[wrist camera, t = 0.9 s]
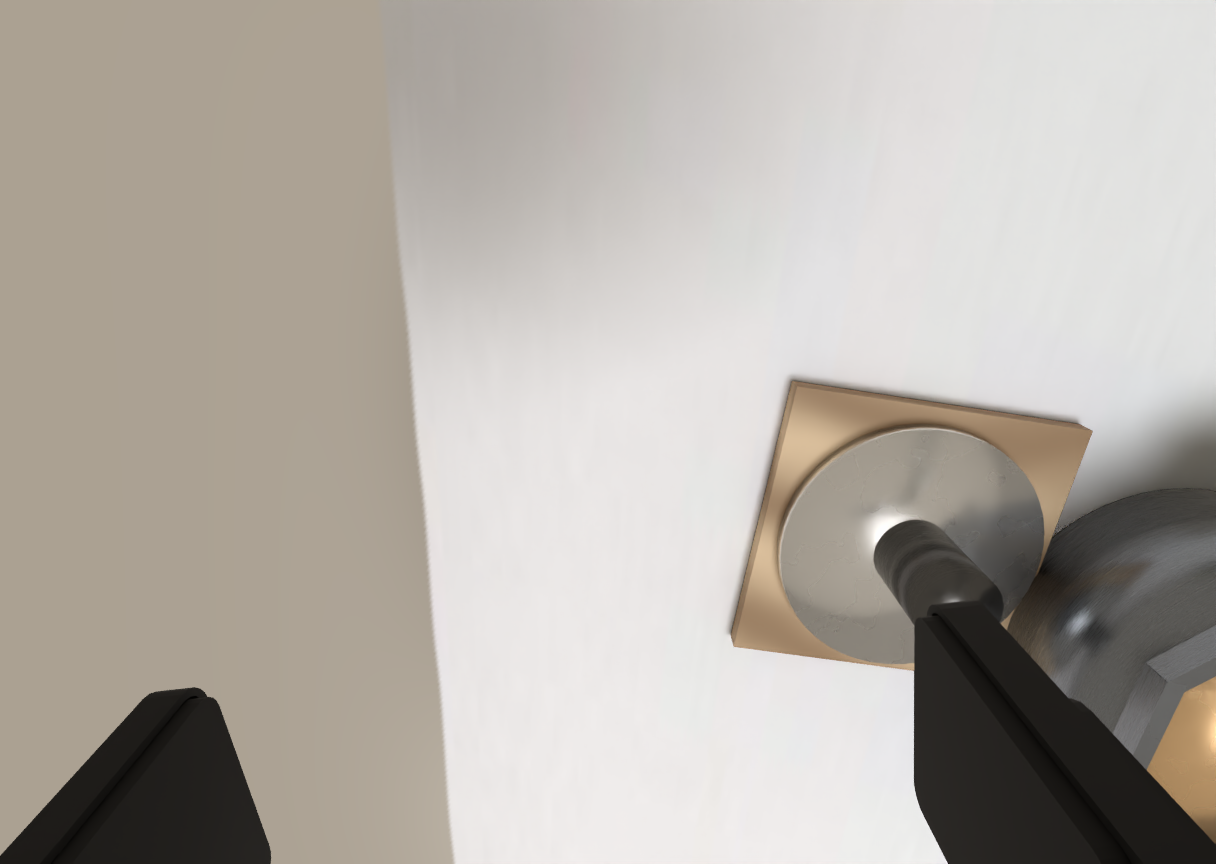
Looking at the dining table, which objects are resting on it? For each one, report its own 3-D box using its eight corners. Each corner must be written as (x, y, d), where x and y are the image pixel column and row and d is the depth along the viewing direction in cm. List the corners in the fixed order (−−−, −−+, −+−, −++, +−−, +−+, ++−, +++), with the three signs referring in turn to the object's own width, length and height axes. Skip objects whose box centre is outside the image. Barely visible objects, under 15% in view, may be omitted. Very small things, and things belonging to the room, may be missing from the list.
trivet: (792, 380, 34) (797, 386, 33) (1079, 424, 35) (1092, 430, 34) (730, 635, 38) (733, 646, 37) (986, 669, 39) (996, 681, 38)
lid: (989, 379, 33) (1068, 419, 27) (1062, 595, 36) (1145, 670, 31) (736, 491, 35) (761, 550, 29) (829, 686, 38) (867, 773, 33)
